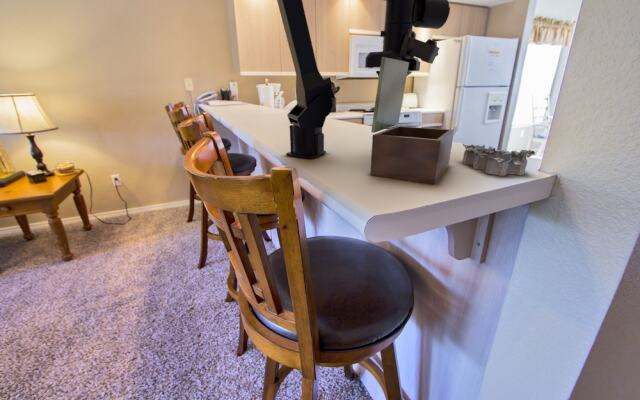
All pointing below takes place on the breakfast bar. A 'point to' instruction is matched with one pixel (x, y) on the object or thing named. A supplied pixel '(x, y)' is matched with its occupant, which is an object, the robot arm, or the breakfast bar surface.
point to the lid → (389, 93)
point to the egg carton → (496, 160)
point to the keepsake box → (411, 153)
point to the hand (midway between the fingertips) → (391, 104)
